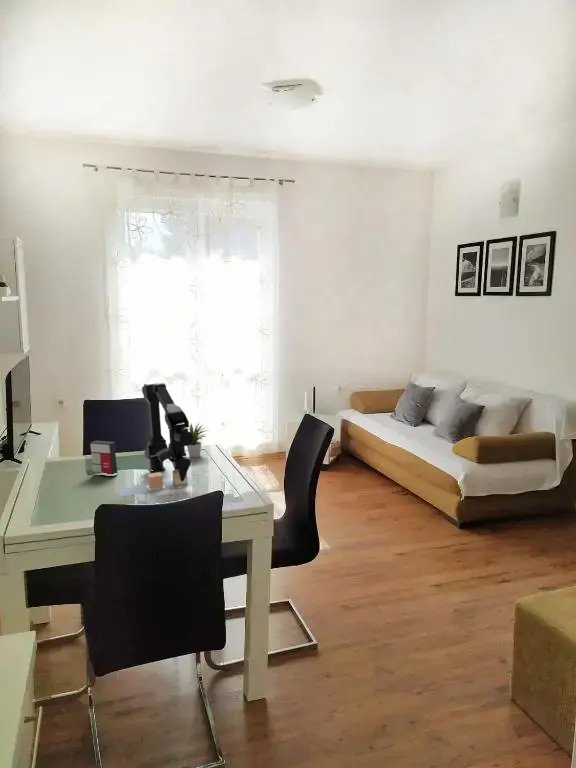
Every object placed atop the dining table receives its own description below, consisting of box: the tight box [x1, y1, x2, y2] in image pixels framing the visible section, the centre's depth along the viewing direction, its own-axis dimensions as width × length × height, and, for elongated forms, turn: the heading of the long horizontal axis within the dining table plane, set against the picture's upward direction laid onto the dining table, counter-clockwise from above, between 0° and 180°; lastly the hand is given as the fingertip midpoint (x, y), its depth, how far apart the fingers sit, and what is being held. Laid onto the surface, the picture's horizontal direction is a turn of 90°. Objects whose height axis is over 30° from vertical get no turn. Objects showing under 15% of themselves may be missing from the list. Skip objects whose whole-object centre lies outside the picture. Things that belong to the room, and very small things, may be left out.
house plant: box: [186, 423, 210, 458], centre depth 279 cm, size 14×14×16 cm
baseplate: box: [116, 477, 196, 498], centre depth 236 cm, size 10×30×1 cm, turn 112°
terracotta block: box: [147, 471, 164, 489], centre depth 236 cm, size 5×5×5 cm
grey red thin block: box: [89, 440, 118, 474], centre depth 256 cm, size 11×4×15 cm, turn 68°
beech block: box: [171, 469, 188, 485], centre depth 240 cm, size 5×5×5 cm
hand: (179, 477), depth 240 cm, fingers open, 9 cm apart
